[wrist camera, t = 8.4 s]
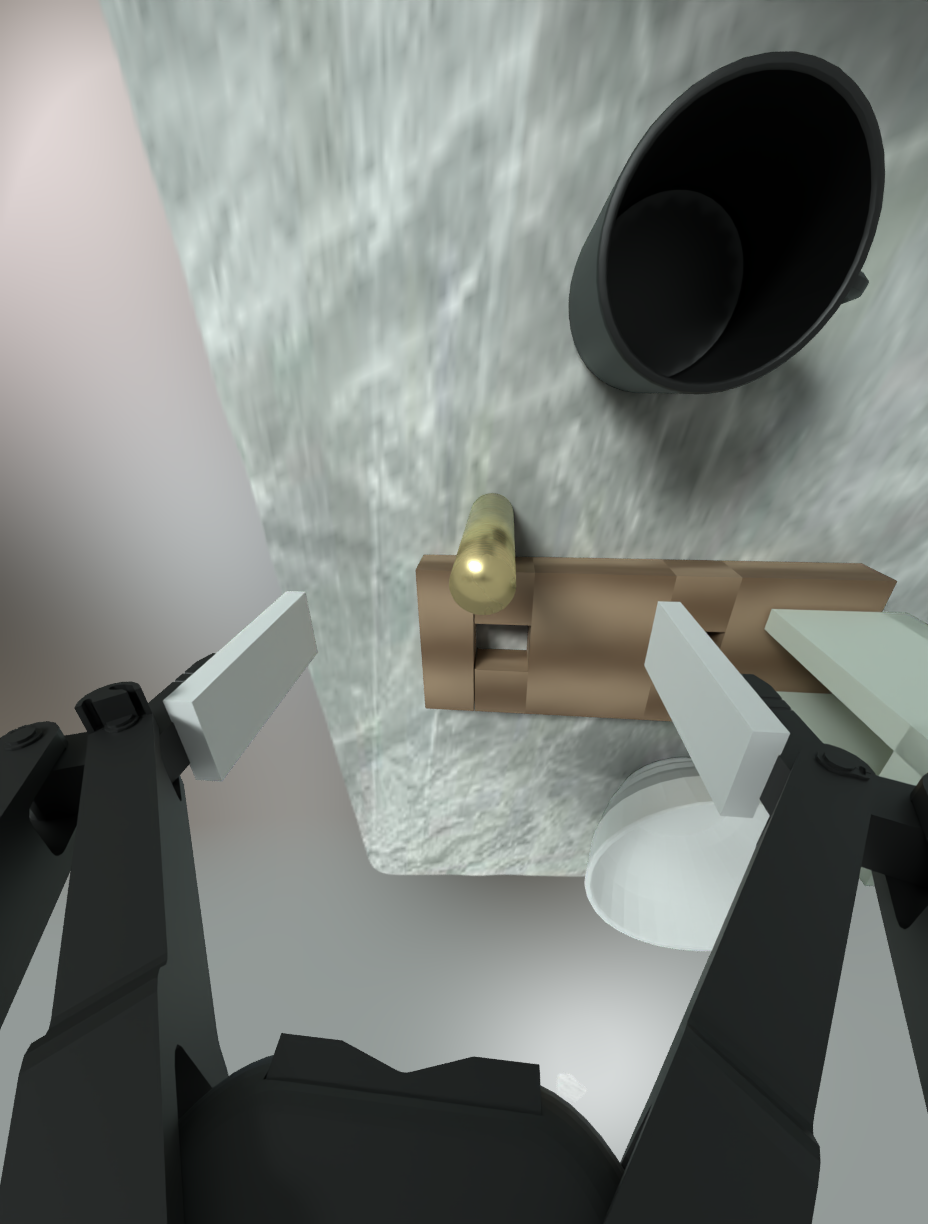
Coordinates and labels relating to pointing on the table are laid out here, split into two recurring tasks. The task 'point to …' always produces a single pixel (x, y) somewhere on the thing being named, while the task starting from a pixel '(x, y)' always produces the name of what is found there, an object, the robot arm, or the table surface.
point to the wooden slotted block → (620, 629)
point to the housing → (863, 686)
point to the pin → (486, 558)
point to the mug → (731, 229)
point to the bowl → (668, 858)
